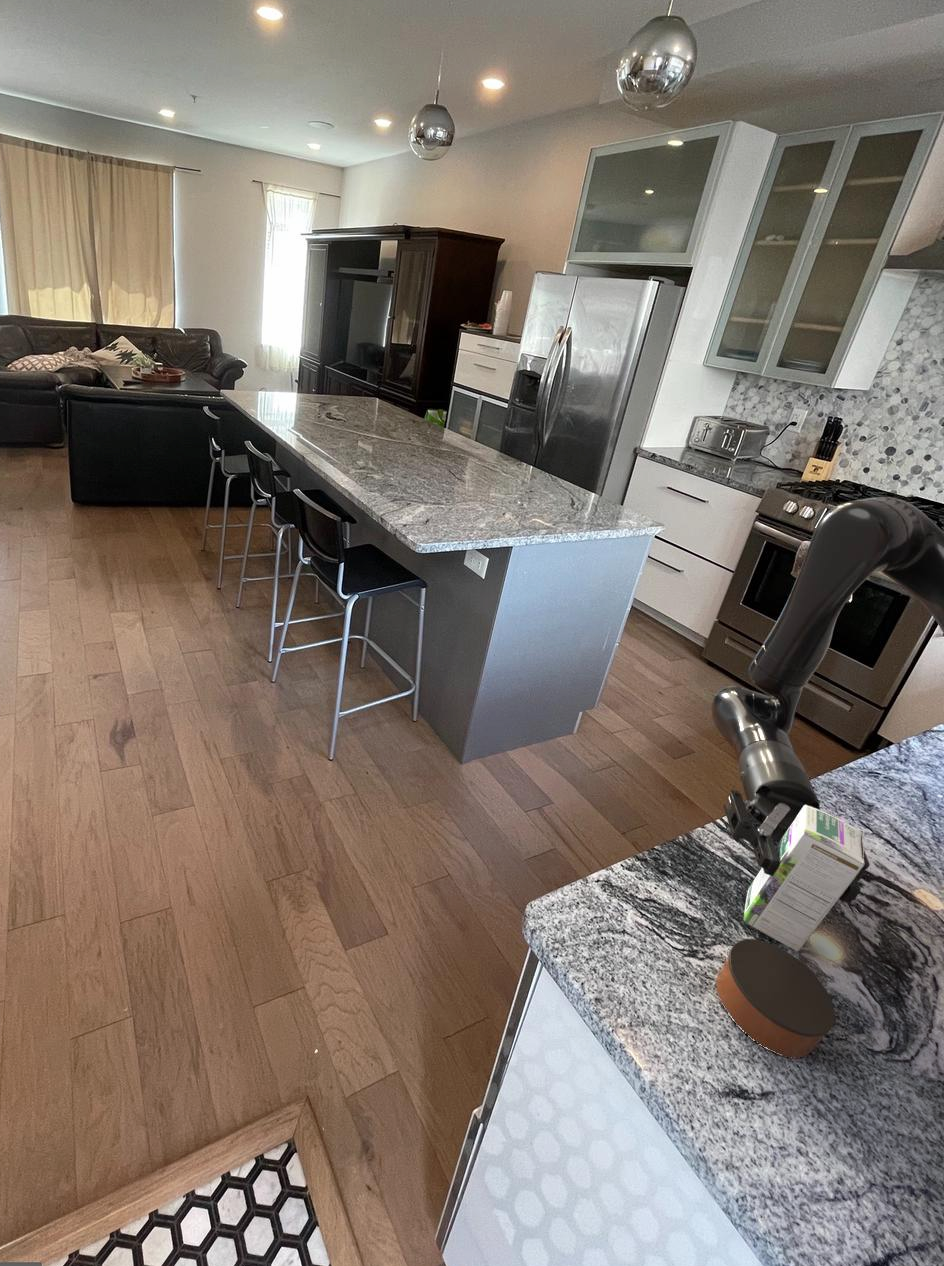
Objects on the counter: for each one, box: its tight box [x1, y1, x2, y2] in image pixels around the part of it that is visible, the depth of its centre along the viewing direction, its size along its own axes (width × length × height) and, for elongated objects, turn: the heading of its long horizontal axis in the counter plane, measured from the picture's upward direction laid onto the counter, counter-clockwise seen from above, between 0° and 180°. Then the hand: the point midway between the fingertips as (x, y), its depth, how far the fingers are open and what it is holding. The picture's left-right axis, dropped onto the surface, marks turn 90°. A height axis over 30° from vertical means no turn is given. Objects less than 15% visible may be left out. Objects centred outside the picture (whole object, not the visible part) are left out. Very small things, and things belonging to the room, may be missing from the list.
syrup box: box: [743, 805, 865, 953], centre depth 69 cm, size 6×6×14 cm
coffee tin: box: [715, 938, 836, 1059], centre depth 62 cm, size 9×9×4 cm
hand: (810, 883), depth 67 cm, fingers closed on syrup box, 7 cm apart
